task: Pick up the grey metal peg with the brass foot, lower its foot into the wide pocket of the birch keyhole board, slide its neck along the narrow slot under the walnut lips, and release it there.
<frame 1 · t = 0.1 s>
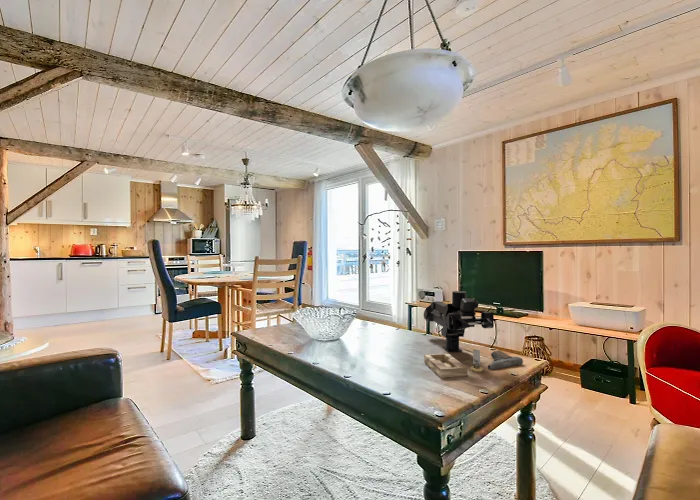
hand: (480, 325, 134), 17 cm above the table, tool horizontal, fingers open, 9 cm apart
peg: (476, 370, 134), on the table
keyhole board: (445, 369, 135), on the table
handgun: (496, 364, 142), on the table
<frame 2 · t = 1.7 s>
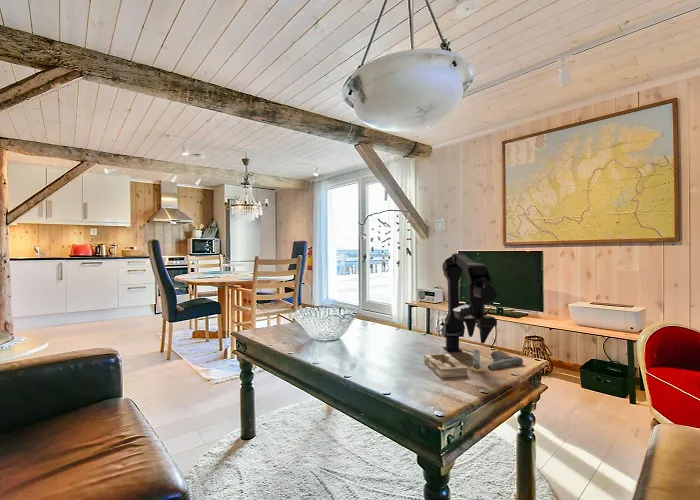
hand: (476, 339, 134), 11 cm above the table, tool pointing down, fingers open, 9 cm apart
nothing on the table moved.
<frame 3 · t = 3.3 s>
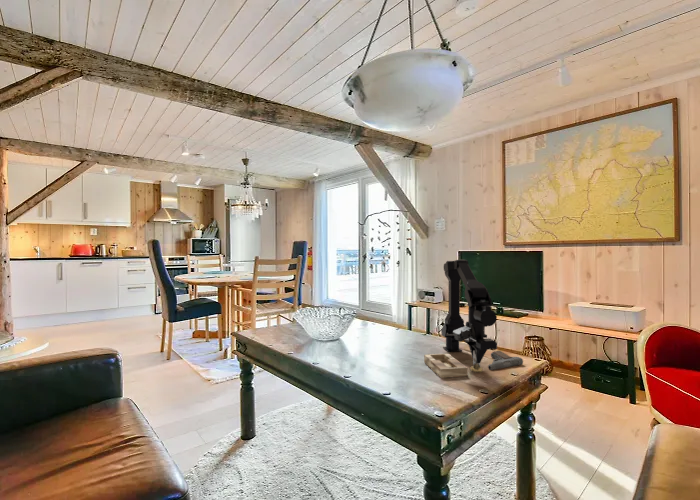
hand: (476, 361, 134), 3 cm above the table, tool pointing down, fingers closed on peg, 2 cm apart
peg: (476, 370, 134), on the table, touching gripper
everything else where it was.
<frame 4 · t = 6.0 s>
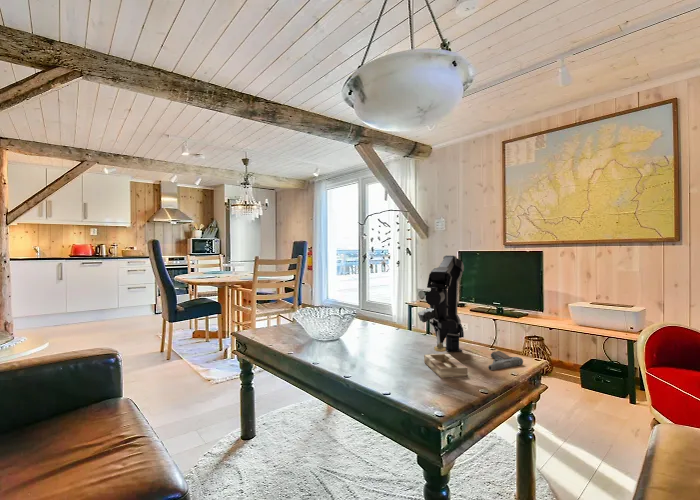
hand: (440, 341, 140), 9 cm above the table, tool pointing down, fingers closed on peg, 2 cm apart
peg: (440, 350, 140), point 6 cm above the table, touching gripper
everything else where it was.
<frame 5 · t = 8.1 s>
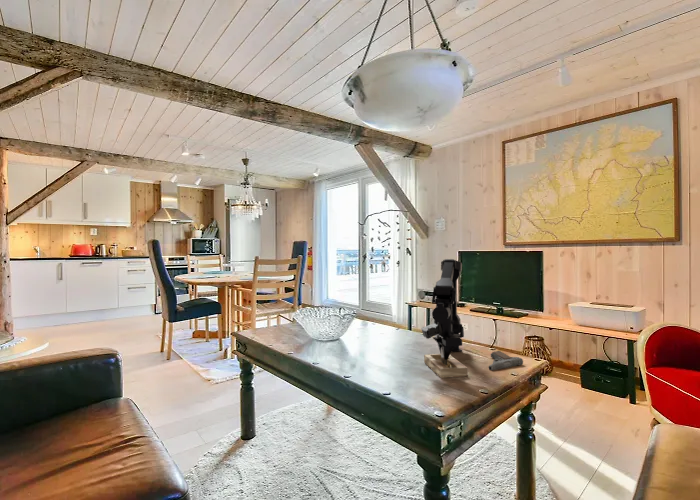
hand: (444, 358, 136), 4 cm above the table, tool pointing down, fingers closed on peg, 2 cm apart
peg: (444, 367, 136), point 1 cm above the table, touching gripper
everything else where it was.
when the fingers open (4 cm above the table, at t = 9.1 s): peg stays where it is, resting on keyhole board.
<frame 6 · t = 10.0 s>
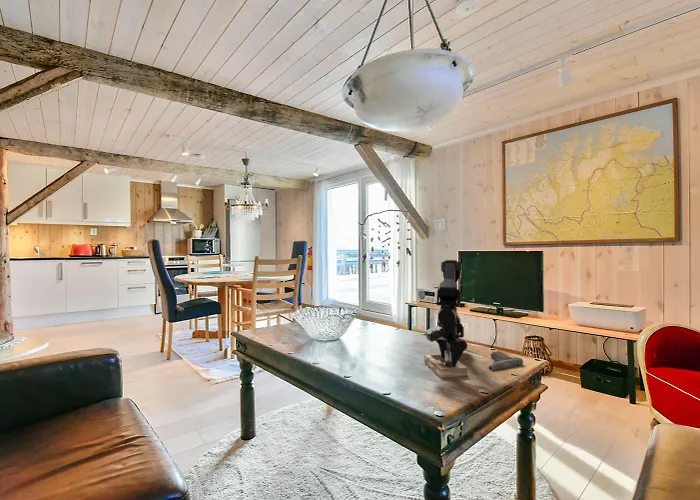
hand: (448, 361, 132), 4 cm above the table, tool pointing down, fingers open, 9 cm apart
peg: (448, 370, 132), resting on keyhole board
everything else where it was.
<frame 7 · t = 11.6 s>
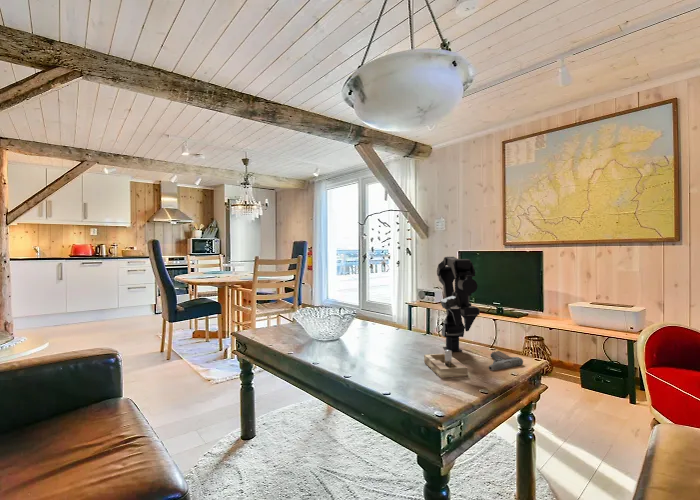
hand: (461, 328, 145), 13 cm above the table, tool pointing down, fingers open, 9 cm apart
nothing on the table moved.
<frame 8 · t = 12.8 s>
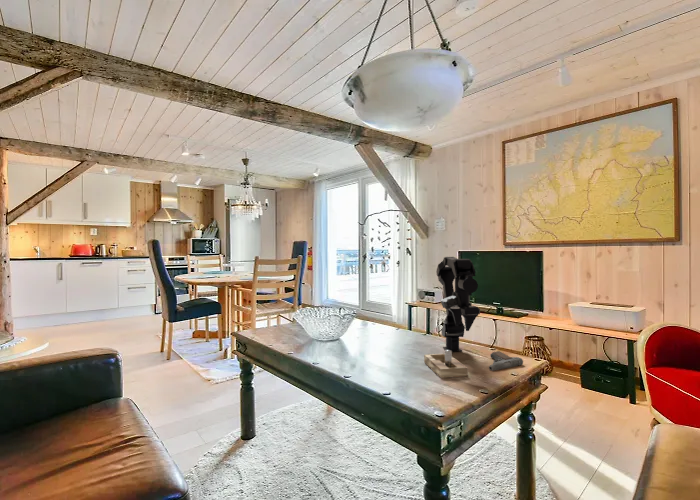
hand: (462, 328, 145), 13 cm above the table, tool pointing down, fingers open, 9 cm apart
at the end: peg 0.3 cm from the target spot on the keyhole board, point 0.4 cm above the keyhole board's base; peg tilted 0°; the gripper is holding nothing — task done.
